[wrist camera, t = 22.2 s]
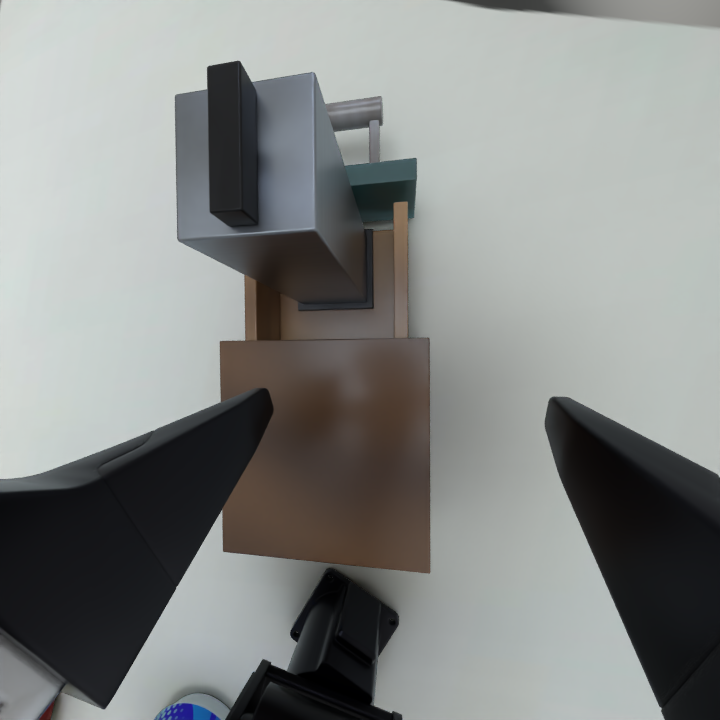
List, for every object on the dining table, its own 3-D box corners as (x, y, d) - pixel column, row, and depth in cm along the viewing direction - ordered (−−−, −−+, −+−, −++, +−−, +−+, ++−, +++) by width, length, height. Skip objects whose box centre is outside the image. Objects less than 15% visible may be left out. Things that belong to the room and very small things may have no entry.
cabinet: (268, 344, 23) (219, 341, 17) (422, 342, 21) (429, 337, 15) (270, 500, 23) (222, 552, 17) (423, 512, 22) (430, 574, 15)
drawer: (268, 149, 22) (232, 96, 18) (413, 131, 20) (416, 67, 16) (270, 366, 22) (236, 369, 18) (414, 366, 21) (417, 369, 16)
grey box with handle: (373, 308, 20) (321, 230, 7) (299, 311, 21) (139, 243, 8) (373, 230, 20) (319, 16, 7) (298, 236, 21) (135, 52, 8)
